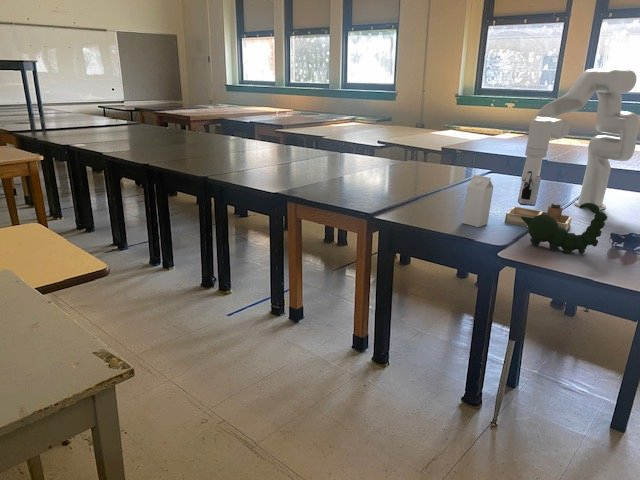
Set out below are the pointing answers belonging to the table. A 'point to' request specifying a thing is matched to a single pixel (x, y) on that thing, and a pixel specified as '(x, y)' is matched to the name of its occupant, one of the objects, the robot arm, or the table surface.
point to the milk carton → (478, 201)
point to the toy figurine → (565, 231)
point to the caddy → (553, 211)
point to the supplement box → (533, 193)
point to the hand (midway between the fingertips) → (527, 196)
